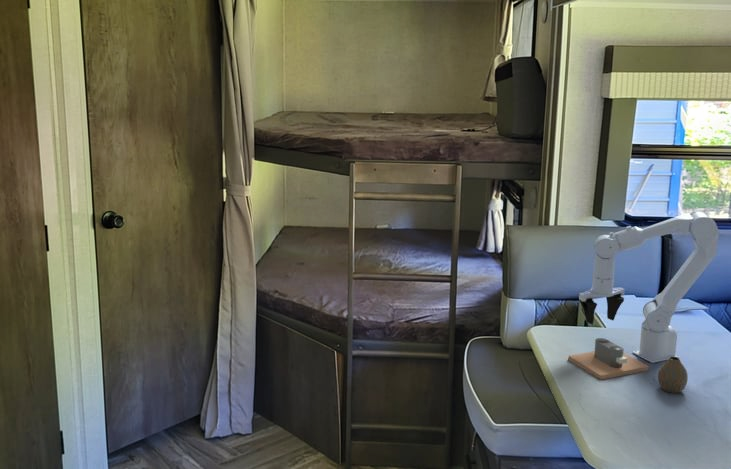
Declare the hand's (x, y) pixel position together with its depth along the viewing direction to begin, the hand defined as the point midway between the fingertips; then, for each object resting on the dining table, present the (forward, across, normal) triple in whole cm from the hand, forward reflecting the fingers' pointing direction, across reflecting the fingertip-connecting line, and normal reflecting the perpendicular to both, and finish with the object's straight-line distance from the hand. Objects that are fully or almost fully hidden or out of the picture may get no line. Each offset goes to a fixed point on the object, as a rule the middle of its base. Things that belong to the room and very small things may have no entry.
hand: (600, 321), depth 193 cm
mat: (+9, +4, +9) cm, 14 cm away
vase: (+10, -1, +27) cm, 29 cm away
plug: (+8, +4, +9) cm, 13 cm away
